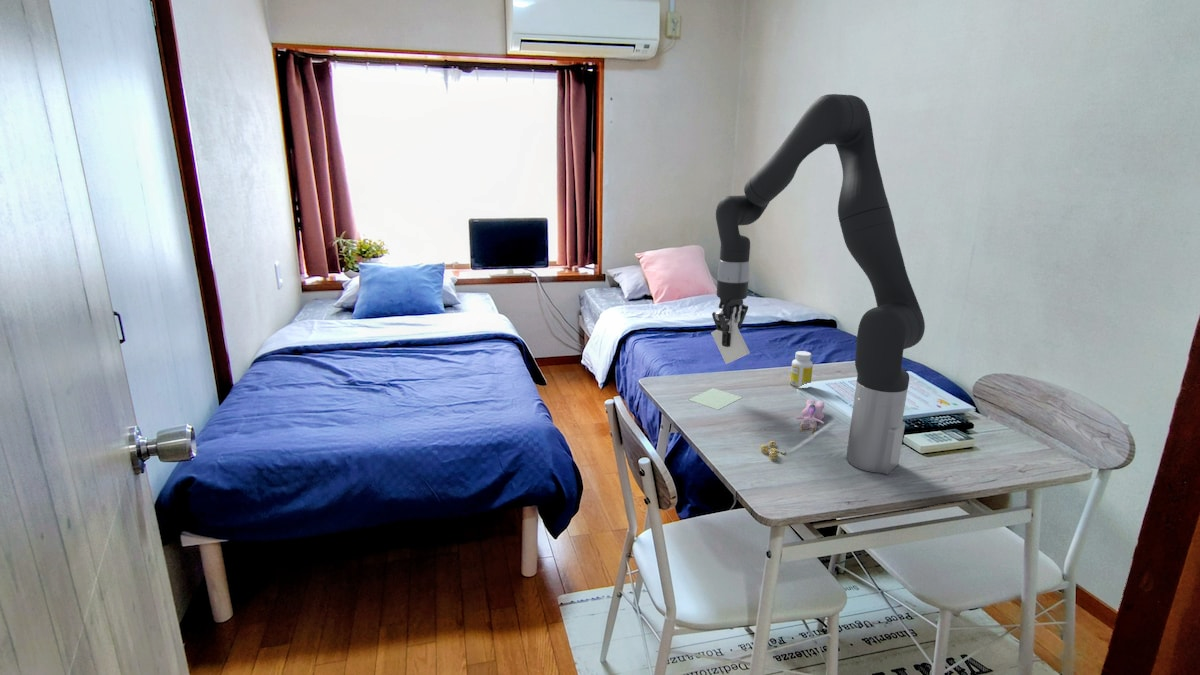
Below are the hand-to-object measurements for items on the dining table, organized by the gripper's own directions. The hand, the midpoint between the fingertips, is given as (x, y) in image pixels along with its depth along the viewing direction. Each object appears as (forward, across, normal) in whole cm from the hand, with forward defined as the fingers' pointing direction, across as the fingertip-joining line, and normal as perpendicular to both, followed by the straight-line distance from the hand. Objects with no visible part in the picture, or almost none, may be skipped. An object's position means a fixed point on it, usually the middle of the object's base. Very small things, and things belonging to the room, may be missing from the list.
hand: (728, 345), depth 153 cm
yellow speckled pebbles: (+15, -20, -25) cm, 35 cm away
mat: (+14, -2, -3) cm, 14 cm away
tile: (+3, 0, -3) cm, 4 cm away
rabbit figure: (+14, +1, -24) cm, 28 cm away
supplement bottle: (+14, +20, -11) cm, 27 cm away
